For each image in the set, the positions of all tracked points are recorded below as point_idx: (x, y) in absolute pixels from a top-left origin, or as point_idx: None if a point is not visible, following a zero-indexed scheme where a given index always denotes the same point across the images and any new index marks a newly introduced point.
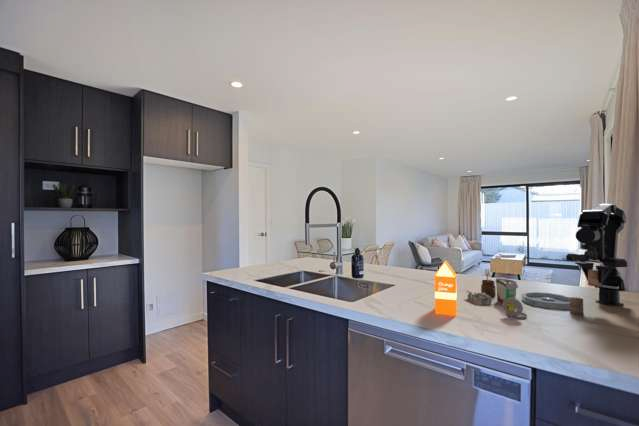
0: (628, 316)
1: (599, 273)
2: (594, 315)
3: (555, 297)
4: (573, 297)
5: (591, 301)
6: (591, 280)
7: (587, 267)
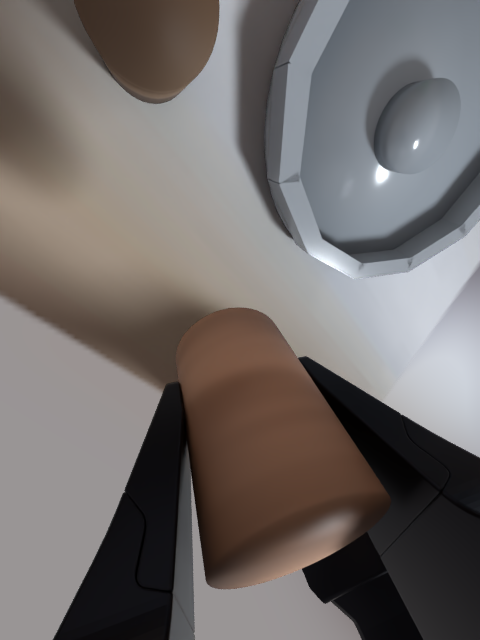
0: (105, 341)
1: (149, 519)
2: (118, 175)
3: (412, 242)
4: (199, 19)
5: (320, 363)
6: (234, 351)
7: (429, 533)
